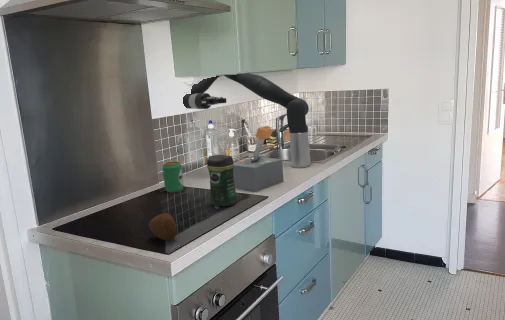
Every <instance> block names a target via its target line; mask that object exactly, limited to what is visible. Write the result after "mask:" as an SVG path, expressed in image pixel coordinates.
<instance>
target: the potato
mask: <svg viewBox="0 0 505 320" xmlns="http://www.w3.org/2000/svg"><path fill="white" fill-rule="evenodd" d="M148 228H149V230H150V231H151V233H153V235H154V236H156V238H159V239H161V240H162V241H166V242H170V241H172V240H174V239H175V237H176V236H177V232H178V231H177V223H176V221H175V219H174V218H173V217H172V215H171V214H170V213H167V212H165V213H161V214H158V215H156V216H154V217H153V218H152V219H150V221H149V222H148Z"/></svg>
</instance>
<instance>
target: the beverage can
mask: <svg viewBox="0 0 505 320" xmlns="http://www.w3.org/2000/svg"><path fill="white" fill-rule="evenodd" d="M182 166H183V165H182V164H181V162H180V161H168V162H165V163H163V165H162V175H163V183H164V184H163V185H164V190H165V191H167V192H166V193H168V192H169V193H170V194H172V193H180V192H182V191H183V190H184V177H183V169H182V168H183V167H182Z"/></svg>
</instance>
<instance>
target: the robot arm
mask: <svg viewBox="0 0 505 320" xmlns="http://www.w3.org/2000/svg"><path fill="white" fill-rule="evenodd" d="M223 76H224V77H225V78H227V79H229V80H232V81H234V82H236V83H238V84H239V85H242V86H243V87H245V88H246V89H248V90H249V91H251V92H252V93H254V94H255V95H257V96H259V97H260V98H262V99H263V100H266V101H269V102H272V103H274V104H276V105H280V106H282V107H283V108H285V109H286V118H287V119H286V120H287V121H286V122H287V126H288V127H287V128H288V131H289V148H290V165H291V167H293V168H297V169H298V168H299V169H300V168H307V167H310V166H311V146H310V143H309V141H310V140H309V127H308V124H307V122H306V115H307V114H308V113H309V111H310V106H309V104H308V103H307V101H306V100H304V99H302V98H300V97H298V96H295V95H294V94H291V93H289V92H288V91H286V90H285V89H284V88H282V87H280V85H277V84H276V83H274V82H272V81H271V80H270V79H268V78H267V77H264V76H262V75H259V74H254V73H250V72H248V73H245V74H237V75H223ZM220 77H221V76H216V77H211V78H207V79H203V80H202V81H200V82H199V83H198V84H194V85H193V86H192V89H191V94H186V95H185V96H184V97H183V104H184V106H185V107H186V108H187V109H192V110H194V109H195V110H208V109H210V108H211V106H215V105H219V104H227V98H226V97H223V96H220V97H218V96H214V95H213V96H211V94H209V93H208V92H207V91H208V90H209V89H210V87H211V86H212V85H213V84H214V82H216V81H217V80H218V78H220Z"/></svg>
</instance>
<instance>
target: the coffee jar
mask: <svg viewBox="0 0 505 320" xmlns="http://www.w3.org/2000/svg"><path fill="white" fill-rule="evenodd" d="M206 161H207V163H206V164H207V166H206V167H207V170H208V175H209V185H210V188H209V189H210V190H209V191H210V195H209V196H210V203H211V204H212V205H213V206H218V207H229V206H234V205H235V204H236V203H237V201H238V198H237V197H238V196H237V191H236V190H237V189H236V188H235V184H234V177H233V168H234V162H235V161H234V157H233V156H232V155H227V154H226V155H224V154H214V155H209V156H208V158H207V160H206Z"/></svg>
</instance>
